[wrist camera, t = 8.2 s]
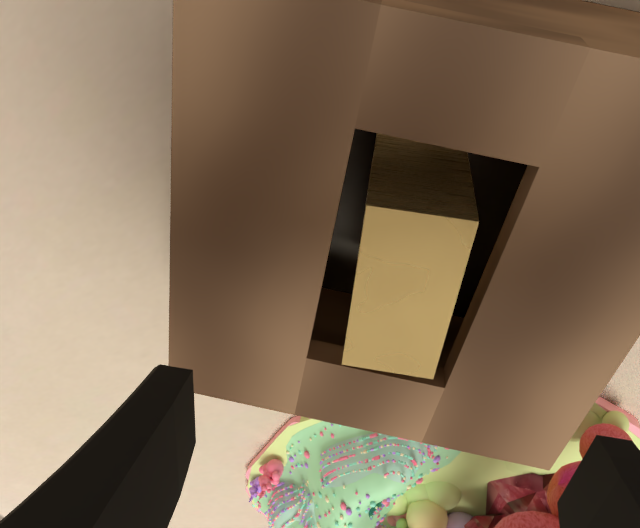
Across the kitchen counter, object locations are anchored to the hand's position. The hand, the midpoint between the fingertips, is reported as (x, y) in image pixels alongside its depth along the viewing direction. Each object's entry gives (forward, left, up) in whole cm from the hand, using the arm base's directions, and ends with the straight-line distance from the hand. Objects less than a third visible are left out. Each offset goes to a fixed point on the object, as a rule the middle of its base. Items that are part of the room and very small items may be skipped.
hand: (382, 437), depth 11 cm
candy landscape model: (-8, +21, -11) cm, 25 cm away
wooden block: (0, 0, -10) cm, 10 cm away
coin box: (0, 0, -10) cm, 10 cm away
